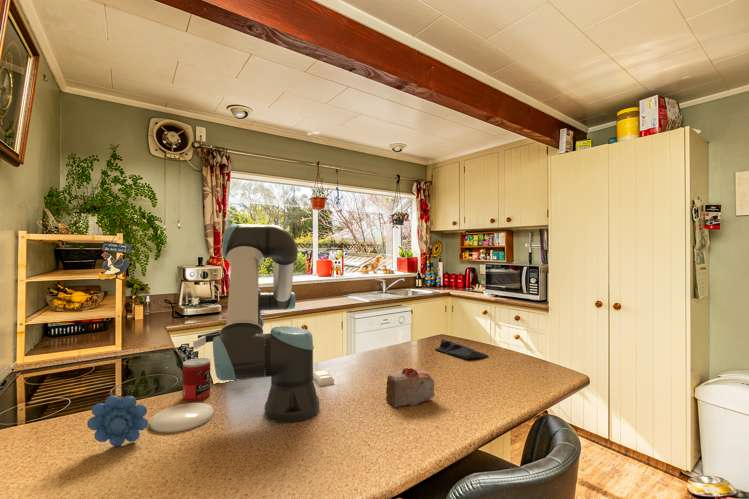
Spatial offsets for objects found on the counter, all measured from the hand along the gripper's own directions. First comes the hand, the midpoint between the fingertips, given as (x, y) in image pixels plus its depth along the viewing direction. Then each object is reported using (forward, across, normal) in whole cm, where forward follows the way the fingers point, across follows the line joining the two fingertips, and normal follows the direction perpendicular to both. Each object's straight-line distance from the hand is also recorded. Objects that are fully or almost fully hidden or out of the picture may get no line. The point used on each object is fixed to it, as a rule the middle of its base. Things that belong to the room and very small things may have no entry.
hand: (213, 345), depth 123 cm
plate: (+25, -5, -13) cm, 29 cm away
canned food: (+10, 0, -13) cm, 17 cm away
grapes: (+40, +1, -13) cm, 42 cm away
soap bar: (-6, -37, -14) cm, 40 cm away
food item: (+10, -67, -13) cm, 69 cm away
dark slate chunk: (-44, -90, -14) cm, 101 cm away
